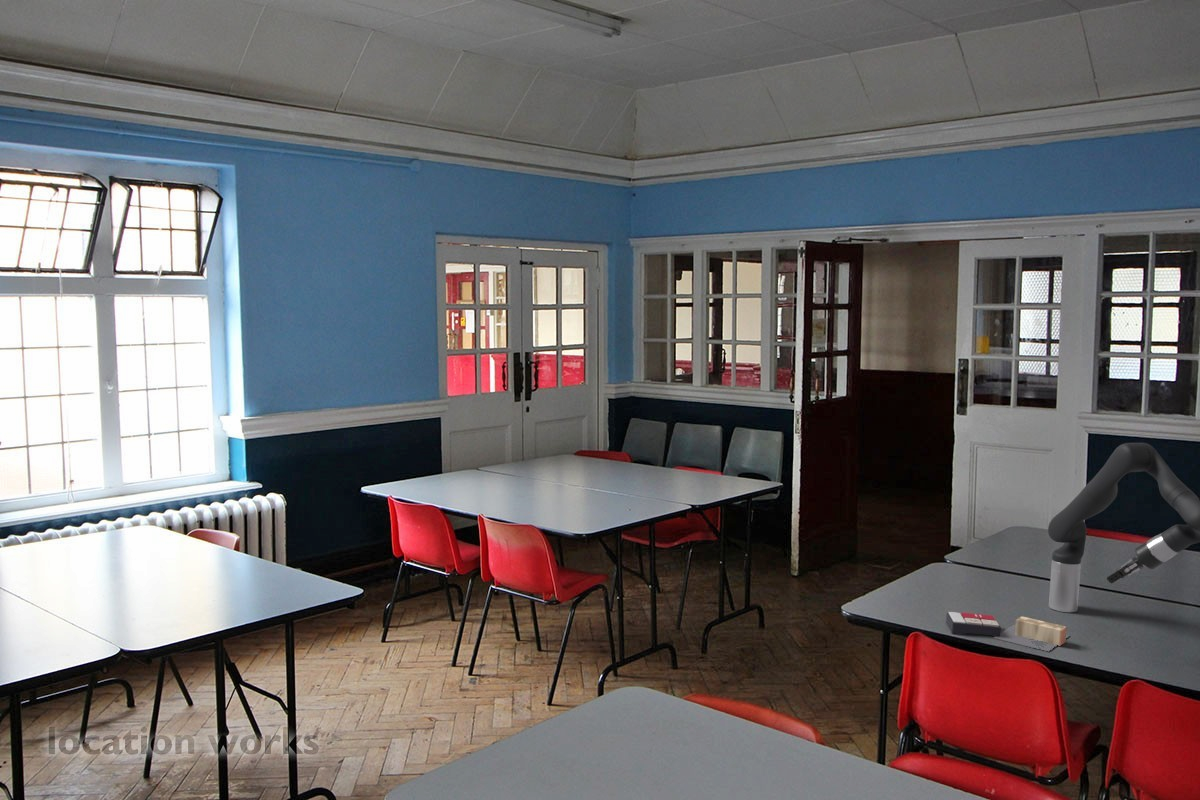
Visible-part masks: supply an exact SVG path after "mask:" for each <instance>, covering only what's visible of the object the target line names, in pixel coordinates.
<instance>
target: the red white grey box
mask: <svg viewBox="0 0 1200 800" xmlns="http://www.w3.org/2000/svg"><path fill="white" fill-rule="evenodd" d="M945 618H946V619H945V624H946V625H947V627H948V629H949V630H950V632H951V633H952V634H957V635H965V634H974V635H975V634H976V635H984V636H993V637H995V636H1000V633H1001V631H1002V630H1001V629H1002V628H1001V625H999V623H998V622H997V620H996V619H995V617H994V616H993V615H989V614H979V613H970V612H955V611H954V612H953V611H948V612H946V617H945Z"/></svg>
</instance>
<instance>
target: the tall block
mask: <svg viewBox="0 0 1200 800" xmlns="http://www.w3.org/2000/svg"><path fill="white" fill-rule="evenodd" d="M1015 623H1016V627H1015V635H1018V636H1022V637H1026V638H1030V639H1034V640H1038V641H1043V642H1047V643H1050V644H1054V645H1058V646H1059V647H1061V646H1062V645H1064V644H1065V643H1066V642H1067V639H1066V634H1067V626H1065V625H1061V624H1056V623H1052V622H1047V621H1045V620H1044V621H1043V620H1039V619H1035V618H1030V617H1026V616H1022V615H1021V616H1020V617H1018V618H1017V619H1015ZM1058 646H1057V647H1058Z"/></svg>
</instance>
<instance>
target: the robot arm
mask: <svg viewBox="0 0 1200 800" xmlns="http://www.w3.org/2000/svg"><path fill="white" fill-rule="evenodd" d="M1140 472H1146V473H1147V474H1148V475H1150V476H1152V477H1153V478H1154V480H1156V481H1157V482H1156V483H1157V485H1158V489H1159V493H1160V495H1161V497H1162V498H1163V499H1164V501H1165V502H1167V503H1168V504H1169V505H1170V506H1171V507H1172V509H1174V510H1175V511H1176V512H1177V513H1178V514H1179V515H1180V517H1181V518H1182V519H1183V521H1184V522H1185V523H1186V524H1175V525H1172V526H1171V527H1169V528H1168V529H1166V530H1164V531H1163V532H1161V533H1159V534H1157V535H1155V536H1153V537H1151V538H1149V540H1146V541H1145V542H1143V543H1142V544H1140V545H1139V546H1137V547H1136V548H1135V550H1134V552H1135V555H1136V556H1133V557H1131V558H1130V559H1129V560H1127V562H1125V563H1123V564H1122V565H1121V566H1120V568H1118V569H1117V570H1116V571H1114V572H1113V573H1111V574H1110V575H1109V576H1107V577H1106V580H1107V581H1108V582H1109V584H1113V583H1115V582H1117V581H1118V580H1120V579H1124V578H1125V577H1126V576H1128V577H1129V576H1130V575H1133V574H1134V573H1137V572H1139V571H1140V570H1142V569H1144V568H1147V569H1150V570H1154V569H1156V568H1159V566H1161V565H1162V564H1164V563H1165V562H1167V561H1169V560H1170V559H1172V558H1173V557H1175V556H1176V555H1177V554H1178V553H1180V552H1182V551H1184V550H1185V549H1187V548H1189V547H1190V546H1191V545H1195V544H1198V543H1200V498H1199V497H1198V496H1197V495H1196V494H1195V493H1194V492H1193V491H1192V490H1191V489H1190V488H1189V487H1187V485H1186V484H1185V483H1183V482H1182V481H1181V479H1179V478H1178V477H1177V476H1176V474H1175V473H1174V471H1173V470H1172V469H1171V468H1170V467H1169V465H1168V464H1167V463H1166V462H1165V460H1164V459H1163V458H1162V456H1161V455H1160V454H1159V453H1158V451H1157V450H1156V449H1155V448H1154V447H1153V446H1152V445H1151V444H1149V443H1146V442H1125V443H1122V444H1120V445H1118V446H1117V447H1116V448H1115V449H1114V451H1113V452H1112V453H1111V455H1110V456H1109V458H1108V459H1107V460H1106V462H1105V463H1104V465H1103V466H1102V467H1101V468H1100V470H1099V471H1098V472H1097V473H1096V475H1095V476H1093V478H1091V480H1090V481H1089V482H1088V483H1087V484H1086V485H1085V486H1084V487H1083V488H1082V490H1081V491H1080V492H1079V493H1078V494H1077V496H1076V497H1074V499H1073V500H1071V502H1070V503H1068V505H1066V506H1065V508H1064V509H1062V510H1061V511H1059V512H1058V513H1057V514H1056V515H1055V516H1054V517H1052V518H1051V520H1050V522H1049V523H1048V526H1047V534H1048V536H1049V538H1050V539H1051V540H1052V541H1053V542H1055V543H1061V544H1063V545H1061V546H1060V547H1059V548H1057V549H1055V550H1053V551H1052V555H1051V568H1050V569H1051V570H1050V583H1049V597H1048V598H1049V599H1048V608H1050V609H1051V610H1054V611H1056V612H1062V613H1076V612H1078V608H1079V606H1078V605H1079V596H1080V593H1079V591H1080V581H1081V566H1082V558H1083V556H1084V553H1085V547H1086V539H1087V525H1086V522H1085V520H1088V519H1090V518H1092V517H1095V516H1096V515H1098V514H1100V513H1101V512H1103V511H1105V509H1107V508H1109V506H1110V505H1111V504H1112V503H1113V501H1114V500H1115V499H1116V498H1117V495H1118V491H1119V490H1118V489H1119V488H1118V483H1119V482H1120V481H1121V479H1123V477H1125V475H1127V474H1129V473H1140Z"/></svg>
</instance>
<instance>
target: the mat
mask: <svg viewBox="0 0 1200 800" xmlns="http://www.w3.org/2000/svg"><path fill="white" fill-rule="evenodd" d="M1015 627H1016V622H1015V623H1014V624H1012V625H1011V626H1009V627H1007V628H1006V629H1004V630H1003V631H1002V632H1000V636H993V639H994V640H998V639H999V641H1002V640H1003V642H1006V643H1009V644H1014V643H1015V644H1014V645H1018V644H1019V645H1018V646H1023V647H1026V646H1027V648H1029V647H1031V648H1030V649H1033V648H1036V649H1035V650H1037V649H1039V648H1038V646H1036V645H1035V643H1034V642H1033V643H1034V644H1032V642H1031V641H1037V640H1029V639H1030V638H1026V637H1022V636H1018V635H1015ZM1070 637H1071V635H1069V634H1067V633H1066V638H1067V639H1068V638H1070ZM1044 644H1046V643H1044ZM1043 646H1044V648H1043V647H1041V646H1039V647H1040V648H1041V650H1044V651H1043V652H1045V651H1048V652H1047V653H1050V652H1051V651H1052V650H1054V649H1055V648H1057V647H1058V646H1057V645H1054V644H1050V643H1048V644H1046V646H1045V645H1043ZM1054 647H1055V648H1054ZM1053 648H1054V649H1053ZM1041 650H1040V651H1041ZM1050 650H1051V651H1050ZM1049 651H1050V652H1049Z"/></svg>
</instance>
